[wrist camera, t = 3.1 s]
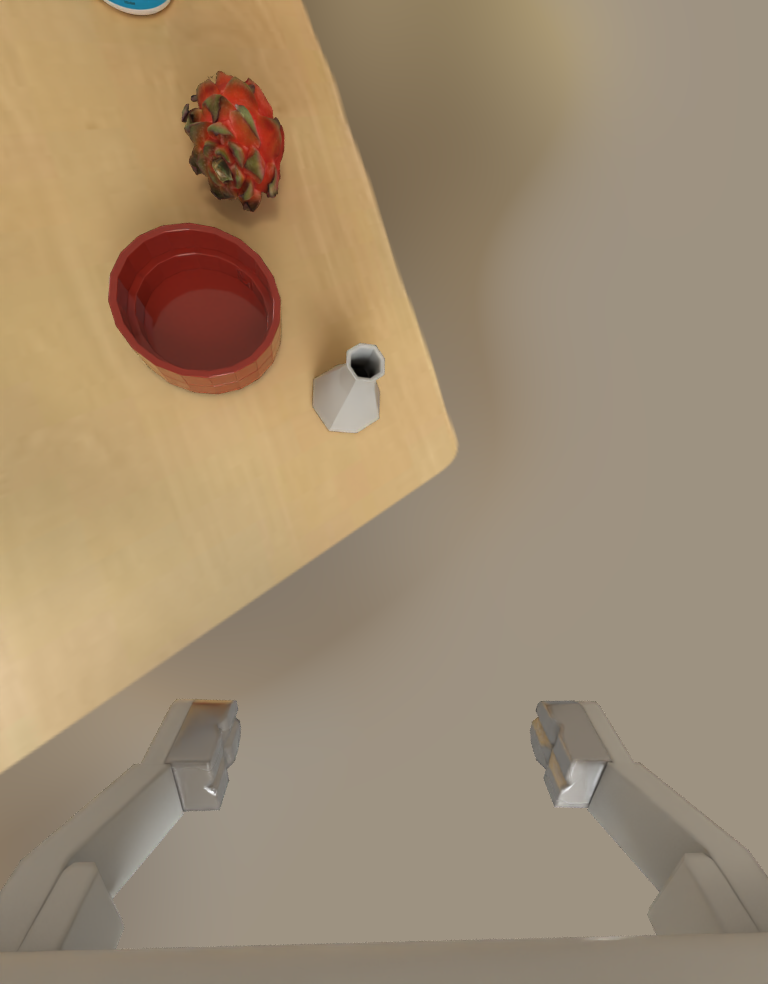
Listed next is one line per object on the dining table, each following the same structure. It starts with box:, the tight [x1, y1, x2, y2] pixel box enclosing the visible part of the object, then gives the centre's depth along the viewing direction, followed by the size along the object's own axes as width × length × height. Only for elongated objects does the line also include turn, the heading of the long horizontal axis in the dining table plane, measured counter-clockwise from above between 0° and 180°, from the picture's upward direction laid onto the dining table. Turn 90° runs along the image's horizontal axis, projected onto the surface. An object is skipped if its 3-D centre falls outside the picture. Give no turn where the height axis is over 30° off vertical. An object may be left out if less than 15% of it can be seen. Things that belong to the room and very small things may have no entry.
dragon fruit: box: [182, 71, 284, 212], centre depth 36 cm, size 8×8×12 cm
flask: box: [313, 343, 385, 433], centre depth 36 cm, size 7×7×10 cm
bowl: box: [108, 223, 281, 394], centre depth 35 cm, size 13×13×5 cm
